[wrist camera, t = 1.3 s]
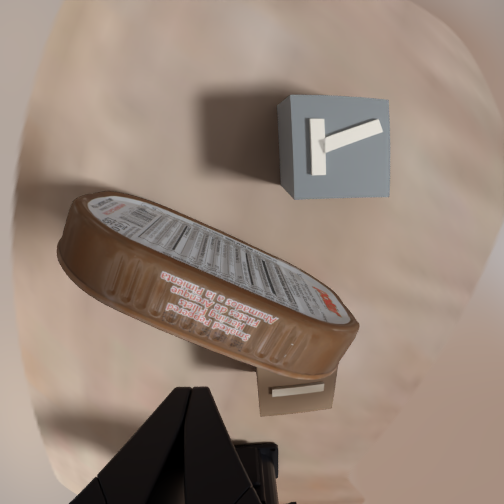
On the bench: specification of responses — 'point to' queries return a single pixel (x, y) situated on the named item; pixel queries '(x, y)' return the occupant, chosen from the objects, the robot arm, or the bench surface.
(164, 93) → the bench surface
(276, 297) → the tin
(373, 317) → the bench surface
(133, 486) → the robot arm
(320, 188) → the slate number block
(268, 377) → the walnut number block
